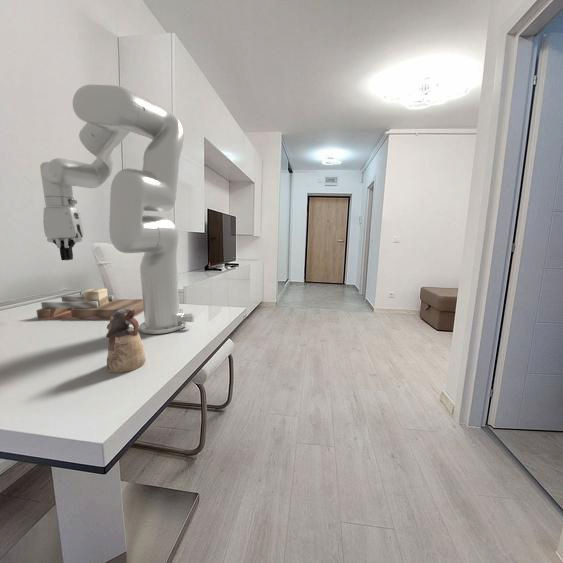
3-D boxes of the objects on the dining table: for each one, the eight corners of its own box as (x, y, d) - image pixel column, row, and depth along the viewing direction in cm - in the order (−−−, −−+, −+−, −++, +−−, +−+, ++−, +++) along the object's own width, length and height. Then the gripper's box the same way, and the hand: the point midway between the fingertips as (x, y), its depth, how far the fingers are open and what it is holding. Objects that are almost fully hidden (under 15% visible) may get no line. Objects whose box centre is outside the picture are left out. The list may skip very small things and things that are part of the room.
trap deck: (150, 307, 106) (149, 293, 105) (131, 318, 92) (129, 303, 91) (69, 307, 106) (67, 294, 105) (37, 319, 92) (35, 304, 91)
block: (108, 302, 101) (107, 288, 100) (99, 306, 96) (98, 291, 95) (94, 302, 101) (92, 288, 100) (85, 306, 96) (83, 291, 95)
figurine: (122, 356, 64) (116, 304, 61) (152, 358, 63) (148, 305, 61) (99, 372, 57) (91, 314, 54) (132, 374, 56) (126, 315, 54)
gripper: (90, 204, 96) (96, 258, 99) (46, 204, 96) (53, 258, 99) (74, 202, 89) (82, 261, 92) (26, 202, 89) (35, 261, 92)
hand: (67, 259), depth 96 cm, fingers closed
